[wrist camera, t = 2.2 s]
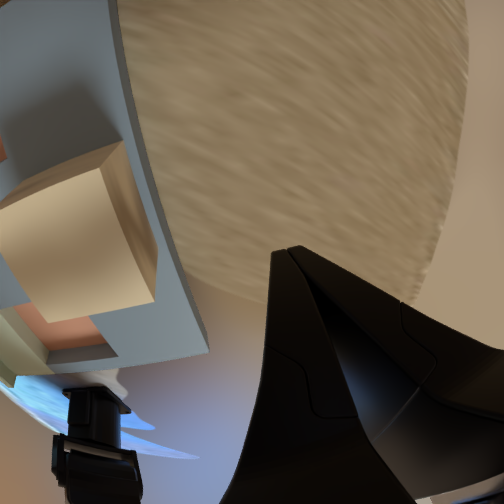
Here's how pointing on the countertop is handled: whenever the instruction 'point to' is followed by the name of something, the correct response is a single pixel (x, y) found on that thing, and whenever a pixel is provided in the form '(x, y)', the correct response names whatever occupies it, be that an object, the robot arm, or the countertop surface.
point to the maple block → (80, 237)
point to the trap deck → (68, 147)
